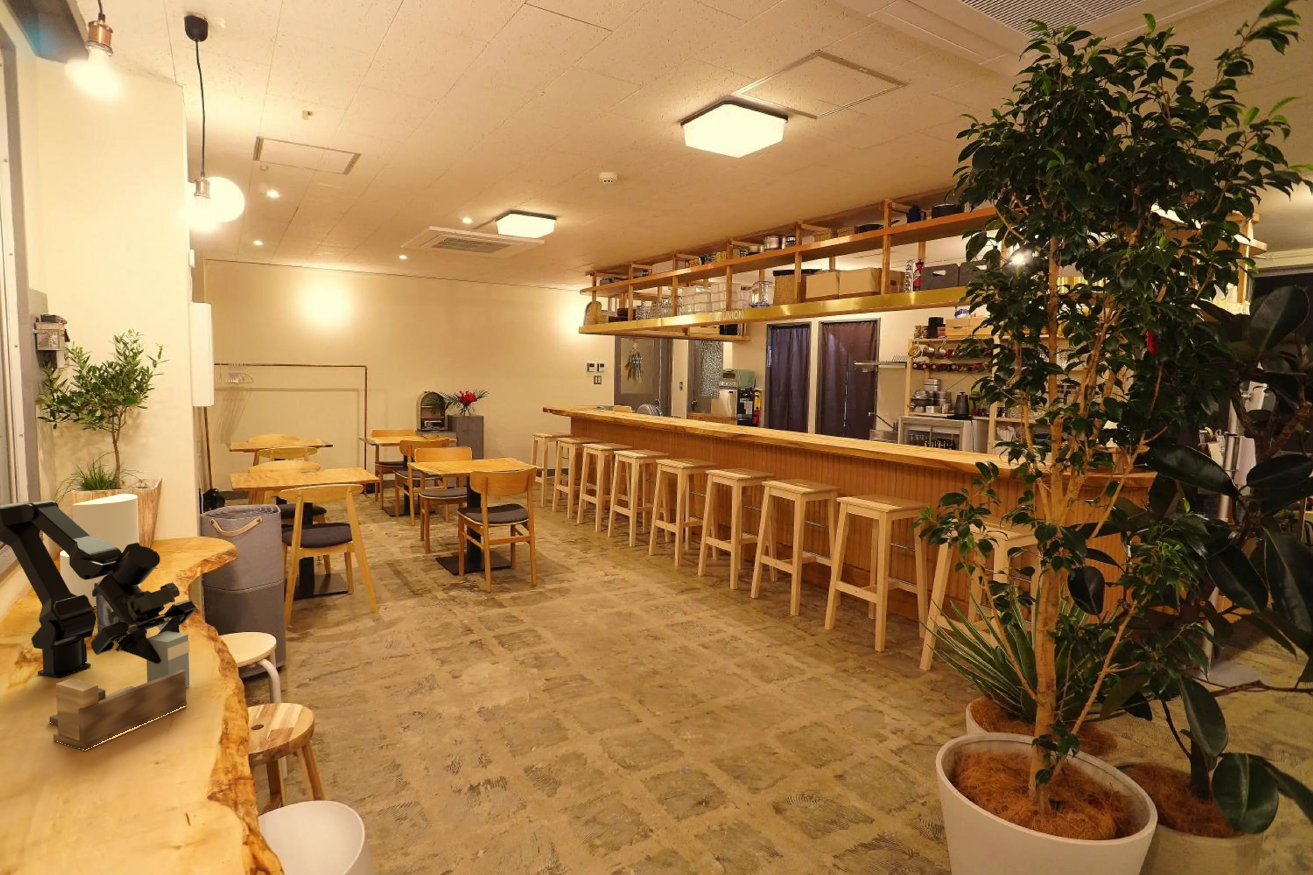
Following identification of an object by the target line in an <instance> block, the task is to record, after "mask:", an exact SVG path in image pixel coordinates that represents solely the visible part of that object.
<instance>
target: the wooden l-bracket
mask: <svg viewBox="0 0 1313 875" xmlns="http://www.w3.org/2000/svg"><path fill="white" fill-rule="evenodd" d="M55 688H56V690H55V692H56V709H57V712H56V714H53V715H51V716H49V723H50V722H51V723H53V724H52V725H54V724H56V725H55V726H57V725H58V726H57V732H56V733H53V734H52V738H53V740H54V741H53V742H55V741H58V742H61V743H63V744H62V745H64V744H66V745H65V746H67V745H69V746H68V747H70V746H72V747H71V748H73V747H75V748H74V749H76V748H80V749H84V750H86V749H88V748H91V747H93V746H94V745H97V744H99V743H101V742H102V741H105V740H107V739H109V738H112V737H113V736H115V735H118V734H120V733H123V732H125V731H127V730H129V729H132V728H134V727H137V726H139V725H142V724H144V723H147V722H148V721H151V720H154V719H156V718H158V717H161V716H163V715H166V714H167V713H170V712H172V711H174V710H176V709H179V708H180V707H183V706H186V705H187V704H188V703H187V694H186V693H187V692H186V689H187V688H186V684H185V671H184V670H179V671H176V672H174V673H171V674H168V675H166V676H163V677H161V678H158V679H155V680H153V681H150V682H147V681H146V682H145V683H142V684H140V685H137V686H133V685H130V686H127V687H125V688H122V689H119V690H117V691H114V692H112V693H109V694H106V689H102V688H99V685H98V684H94V683H90V682H87V681H84V680H81V679H80V680H79V679H76V678H74V677H71V678H69V679H64V680H63V681H60V682H56V683H55ZM187 706H188V705H187ZM51 723H50V724H51ZM58 742H57V743H58ZM61 743H60V744H61Z"/></svg>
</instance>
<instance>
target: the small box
mask: <svg viewBox="0 0 1313 875" xmlns="http://www.w3.org/2000/svg"><path fill="white" fill-rule="evenodd" d="M144 591H145V590H142V592H144ZM95 608H96V623H97V632H98V633H99V632H100V631H101V630H102V629H103V627H106V626H109V625H112V624H116V623H119V622H121V620H120V619H119V618H118V617H116V618H112V617H111V615H110V614H111V613H112V612H113V610H112V608H111V607H110V605H109V604H108V603H107V601H106V600H105V599H104V597H103V596H102V595H99V596H96V607H95ZM145 633H146V634H147V633H148V629H147V630H145Z"/></svg>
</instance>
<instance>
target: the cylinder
mask: <svg viewBox="0 0 1313 875" xmlns="http://www.w3.org/2000/svg"><path fill="white" fill-rule="evenodd" d="M138 500H139V499H138V495H137V494H131V493H120V494H116V495H111V496H106V497H100V498H97V499H96V498H95V499H91V500H88V501H86V500H85V501H83V502H78V503H72V504H71V505H72V506H71V509H72V510H71V512H72V520H73V521H74V522H75V523H76V524H77V525H79V526H80V527H81V528H82V529H83V530H84V531H85V532H87V533H88V534H89V535H90V536H92V537H93V538H95V539H99V540H103V541H107V542H109V543H111V544H112V545H114V546H115V547H117V548H118V549H120V551H122V552H123V551H124V549H125V547H126V546H127V545H128V544H132V543H136V542H138V543H139V544H140V534H139V533H140V532H139V527H140V526H139V507H138V506H139V504H138V502H139V501H138ZM59 561H60V562H59V563H60V574H61V576H62V578H63V580H64V581H65V583H66V585H67V587H68V589H69V591H70V592H71V593H72V594H74V595H76V596H79V595H83V594H84V595H85V596H87V597H88V600H89V602H90V604H91V606H92V607H93V608H95V607H94V606H96V597H93V596H92V591H93V589H94V584H95V583H97V582H100V581H101V580H102V579H103V578H104V577H105V576H107V575H105V576H101V577H97V578H93V579H89V580H84V579H82V578H80V577H79V576H78V575H77V574H76V572H75V571H74V570H73V569H72V568H71V566H70V565H69V555H68V554H67V553H66V552H65V551H64V550H62V551H60V553H59ZM138 586H139V588H140V589H141V587H142V586H141V583H140V584H138ZM141 590H142V589H141Z"/></svg>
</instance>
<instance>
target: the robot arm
mask: <svg viewBox="0 0 1313 875" xmlns="http://www.w3.org/2000/svg"><path fill="white" fill-rule="evenodd" d="M41 532H42V533H43V534H45V535H46V536H47V537H48V538H49V539H50V540H52V541H53V542H54V543H55V544H56V545H57V546H58V547H59V548H60V549H62V551H65V552H66V553H67V554H68V555H69V565H70V566H71V568H72V569H73V570H74V571H75V572H76V574H77V575H78V576H79V577H80V578H82V579H84V580H89V579H93V578H97V577H101V576H105V575H107V576H105V577H104V578H103V579H102V580H101V581H100V582H97V583H95V584H94V589H93V591H92V596H93V597H96V596H99V595H102V596H103V597H104V599H105V600H106V601H107V603H108V604H109V605H110V607H111V608H112V610H113V612H112V613H111V614H110V615H111V617H112V618H116V617H118V618H119V619H120V620H121V622H119V623H116V624H112V625H109V626H106V627H103V629H102V630H101V631H100V632H98V633H97V634H96V636H95V637H93V639H92V640H91V643H90V648H91V649H92V651H93V653H94V654H95V655H96V656H99V655H101V654H104V653H106V652H109V651H112V650H113V648H114V644H115V643H114V642H117V644H118V645H117V647H116V648H115V651H116V652H120V651H121V652H125V653H128V654H131V655H134V656H137V657H139V658H141V659H143V660H145V661H147V660H148V661H151V662H153V663H155V664H159V663H160V662H161V659H160V657H159V655H158V653H157V652H156V651H155V649H154V648H153V647H152V645H151V644H150V642H149V641H148V640H147V638H148V637H147V635H146V634H147V633H145V630H147V631H148V630H149V629H152V628H155V627H157V629H158V630H159V631H158V633H157V634H160V633H163V632H165V631H170V632H177V633H181V632H180V625H181V626H182V624H184V623H185V622H186V621H187V620H188V619H189V618H190V617H191V616H192V615H193V614H194V612H195V611H196V610H197V609H198V607H197V606H196V605H195V603H194V602H193V601H192V600H188V599H186V600H183V601H179V602H177V603H175V602H176V599H175V598H177V597H179V596H180V594H181V593H180V589H179V588H178V586H177V585H176V584H175V583H174V582H173V581H172V582H170V583H165V584H164V585H161V586H160V588H159V590H158V589H157V590H154V591H152V592H151V591H149V590H142V589H140V588H139V586H138V584H140V585H141V584H142V583H144V582H145V581H146V579H147V578H148V577H149V576H150V575H151V573H152V572H153V571H154V570H155V569H156V568H157V566H158V565H159V564H160V563H161V556H160V554H159V553H158V552H157V551H155V550H153V549H151V548H150V547H147V546H142V545H141V544H140V542H139V543H138V542H136V543H132V544H128V545H127V546H126V547H125V549H124V551H123V552H122V551H120V549H118V548H117V547H115V546H114V545H112V544H111V543H109V542H107V541H103V540H99V539H95V538H93V537H92V536H90V535H89V534H88V533H87V532H85V531H84V530H83V529H82V528H81V527H80V526H79V525H77V524H76V523H75V522H74V521H73V518H71V517H69V516H68V515H67V514H66V513H65V512H64V511H63V510H62V509H60V506H59V504H58V503H57V501H55V500H51V499H45V500H40V501H39V500H38V501H31V502H30V501H19V502H13V503H6V504H0V542H1V543H3V544H5V545H7V546H9V547H10V549H11V550H12V551H13V554H14V556H15V558H16V559H17V561H18V563H19V565H20V567H21V569H22V570H23V572H24V574H25V576H26V578H27V580H28V581H29V583H30V585H31V587H32V590H33V591H34V592H35V594H36V596H37V598H38V600H39V602H40V603H41V608H40V614H39V616H38V621H39V624H40V627H39V628H38V629H37V631H36V632H35V633H34V634H33V635H32V636H31V643H32V646H33V648H34V649H39V650H41V653H42V654H41V656H42V669H41V670H38V671H37V674H38V675H42V676H48V677H54V678H63V677H65V676H68V675H71V674H73V673H76V672H79V671H82V670H84V669H86V668H89V667H92V664H91V663H89V662H88V649H87V648H88V646H87V643H85V639H87V638H92V636H93V634H94V630H95V626H96V623H97V613H96V612H95V607H92V606H91V604H90V602H89V600H88V597H87V596H85V595H84V594H83V595H79V596H76V595H74V594H72V593H71V592H70V591H69V589H68V587H67V585H66V583H65V581H64V580H63V578H62V576H61V571H59V569H58V567H57V565H56V563H55V562H54V560H53V558H52V556H51V554H50V552H49V550H48V549H47V547H46V545H45V542H44V541H43V539H42V538H41V535H40V534H41ZM142 591H144V592H142ZM170 603H174V604H172V605H170V607H169V608H168V609H167V610H166V612H164V613H162V614H160V612H163V611H164V610H165V608H166V607H165V605H168V604H170Z"/></svg>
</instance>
